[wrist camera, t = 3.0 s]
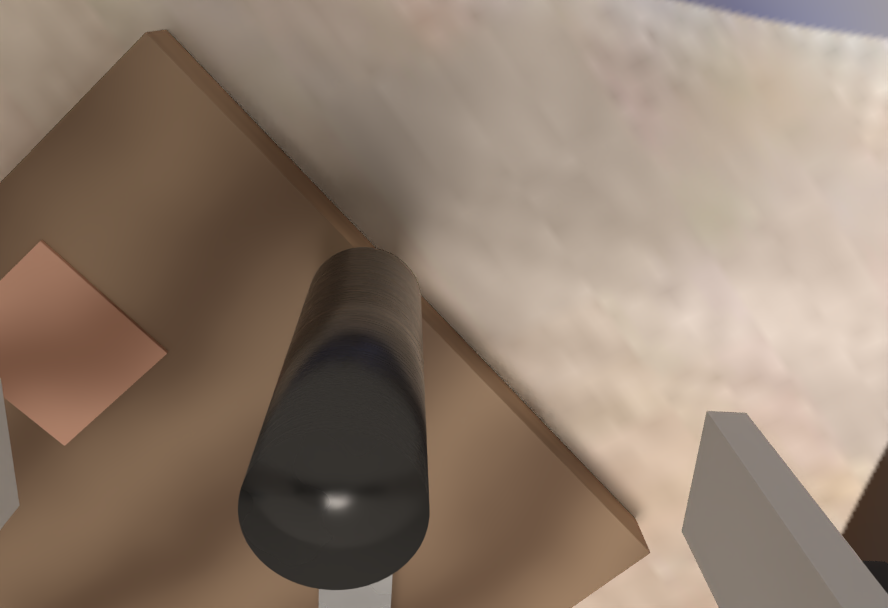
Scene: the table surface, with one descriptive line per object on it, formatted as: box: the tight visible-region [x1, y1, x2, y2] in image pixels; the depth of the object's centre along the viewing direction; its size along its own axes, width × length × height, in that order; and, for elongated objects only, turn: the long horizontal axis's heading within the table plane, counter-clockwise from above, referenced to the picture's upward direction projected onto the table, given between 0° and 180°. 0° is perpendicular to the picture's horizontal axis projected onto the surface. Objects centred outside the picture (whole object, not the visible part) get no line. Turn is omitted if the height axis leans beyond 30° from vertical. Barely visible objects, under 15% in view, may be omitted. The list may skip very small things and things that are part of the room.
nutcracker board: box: [0, 30, 650, 608], centre depth 27 cm, size 24×20×5 cm
